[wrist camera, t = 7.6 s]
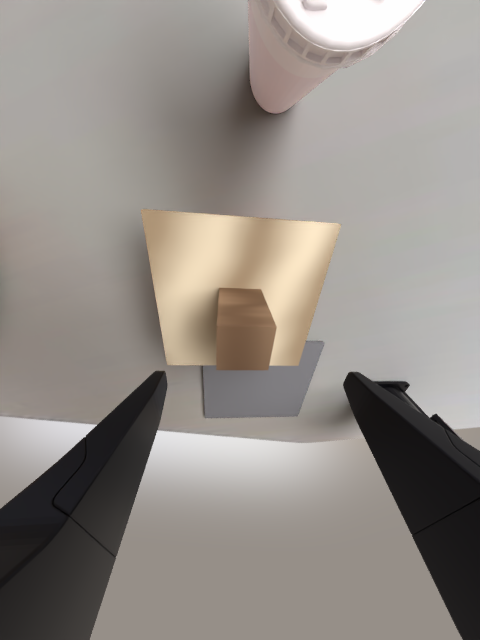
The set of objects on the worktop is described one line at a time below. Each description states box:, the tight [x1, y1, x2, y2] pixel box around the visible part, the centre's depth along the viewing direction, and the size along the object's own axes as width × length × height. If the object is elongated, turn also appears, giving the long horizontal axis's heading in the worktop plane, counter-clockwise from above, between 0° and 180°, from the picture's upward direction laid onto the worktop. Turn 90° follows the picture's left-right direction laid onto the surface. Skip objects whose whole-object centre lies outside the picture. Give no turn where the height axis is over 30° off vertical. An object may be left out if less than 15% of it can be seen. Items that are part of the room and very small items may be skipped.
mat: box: [203, 341, 324, 418], centre depth 27 cm, size 15×15×1 cm
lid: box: [141, 209, 341, 370], centre depth 13 cm, size 12×12×6 cm
